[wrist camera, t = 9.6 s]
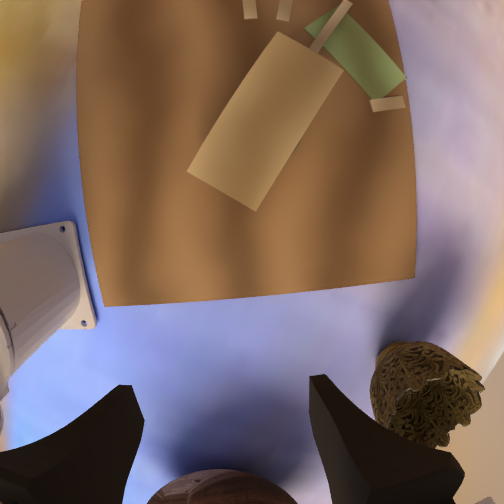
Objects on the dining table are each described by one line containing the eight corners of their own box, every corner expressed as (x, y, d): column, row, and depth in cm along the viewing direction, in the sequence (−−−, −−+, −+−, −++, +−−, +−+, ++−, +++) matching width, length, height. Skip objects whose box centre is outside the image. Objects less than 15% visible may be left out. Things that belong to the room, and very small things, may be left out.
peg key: (193, 168, 18) (179, 167, 14) (316, -11, 15) (330, -45, 11) (259, 206, 19) (263, 216, 15) (374, 24, 16) (400, -3, 12)
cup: (401, 296, 21) (460, 349, 14) (446, 345, 23) (498, 398, 15) (330, 367, 23) (359, 441, 15) (383, 406, 24) (417, 470, 16)
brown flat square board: (110, 300, 21) (103, 307, 20) (88, 7, 16) (81, 0, 15) (407, 272, 21) (416, 278, 20) (375, -19, 16) (381, -27, 14)
